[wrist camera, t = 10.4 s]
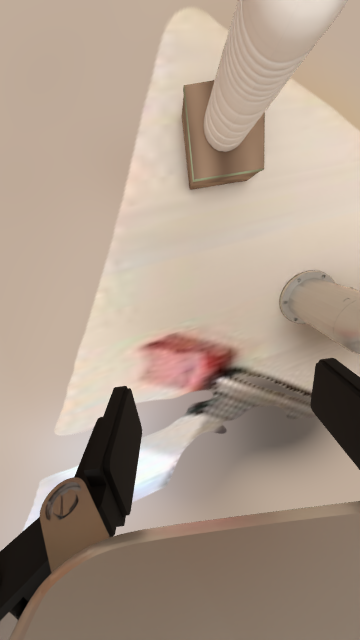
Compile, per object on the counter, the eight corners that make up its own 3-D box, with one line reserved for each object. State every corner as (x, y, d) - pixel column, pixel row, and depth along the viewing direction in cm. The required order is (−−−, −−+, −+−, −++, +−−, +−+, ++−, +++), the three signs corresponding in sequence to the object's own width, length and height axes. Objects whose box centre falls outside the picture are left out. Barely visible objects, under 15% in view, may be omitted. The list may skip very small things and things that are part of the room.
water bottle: (193, 127, 30) (266, -213, 7) (225, 82, 29) (453, -554, 6) (235, 174, 33) (388, 31, 10) (266, 135, 31) (545, -154, 8)
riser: (245, 104, 36) (265, 70, 28) (247, 181, 40) (264, 168, 33) (181, 115, 36) (183, 84, 29) (189, 190, 40) (193, 180, 33)
